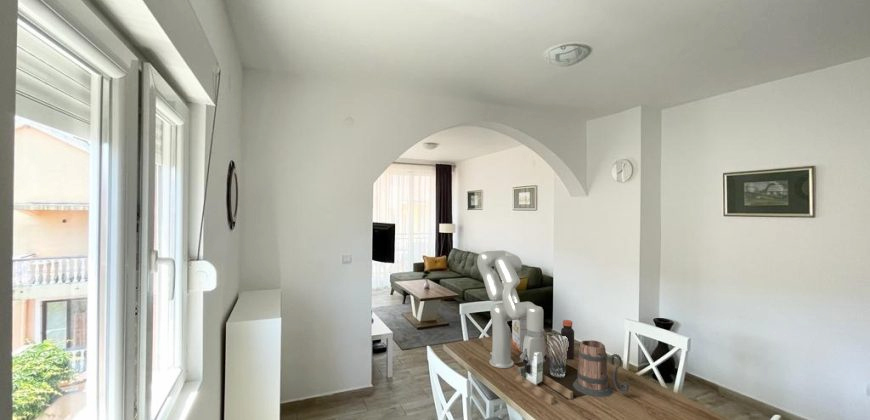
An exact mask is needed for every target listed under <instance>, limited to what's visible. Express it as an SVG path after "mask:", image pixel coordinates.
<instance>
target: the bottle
mask: <svg viewBox="0 0 870 420" xmlns="http://www.w3.org/2000/svg"><path fill="white" fill-rule="evenodd" d="M562 326H563V327H562V328H561V329H560V336H561V335H562V336H566V337H567V338H568V341H569V347H568V351H567V359H566V360H568V359H572V360H574V359H575V330H574V329H573V321H572V320H568V319H562Z"/></svg>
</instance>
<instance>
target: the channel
mask: <svg viewBox="0 0 870 420" xmlns="http://www.w3.org/2000/svg"><path fill="white" fill-rule="evenodd" d="M517 370H518V371H517V373H515V381H516V382H517V383H518V384H520V385H522V386H523V387H525V388H526V389H527V390H529V391H530V392H531V393H533V394H535V395H536V396H538V398H540V399H542V400H544V402H546V403H547V404H549V405H550V406H553V405H555V397H554V396H553V395H552V394H550V393H548V392H547V391H545V390H544V389H543V388H541V387H540V386H539V385H535V384H533V383H532V382H530V381H529V380H527V379H526V372H525V365H524V366H518V368H517ZM541 383H543V384H544V385H546V386H548V387H550V388H551V389H553V390H554V391H556V392H557V393H559V394H560V395H562V396H564V397H565V398H567V399H569V400H574V391H572V390H570V389H569V388H567V387H566V386H564V385H562V384H560V383H559V382H557V381H555V380H554V379H552V378H551V377H549V376H548V375H546V374H544V373H543V381H542V382H541Z"/></svg>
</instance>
